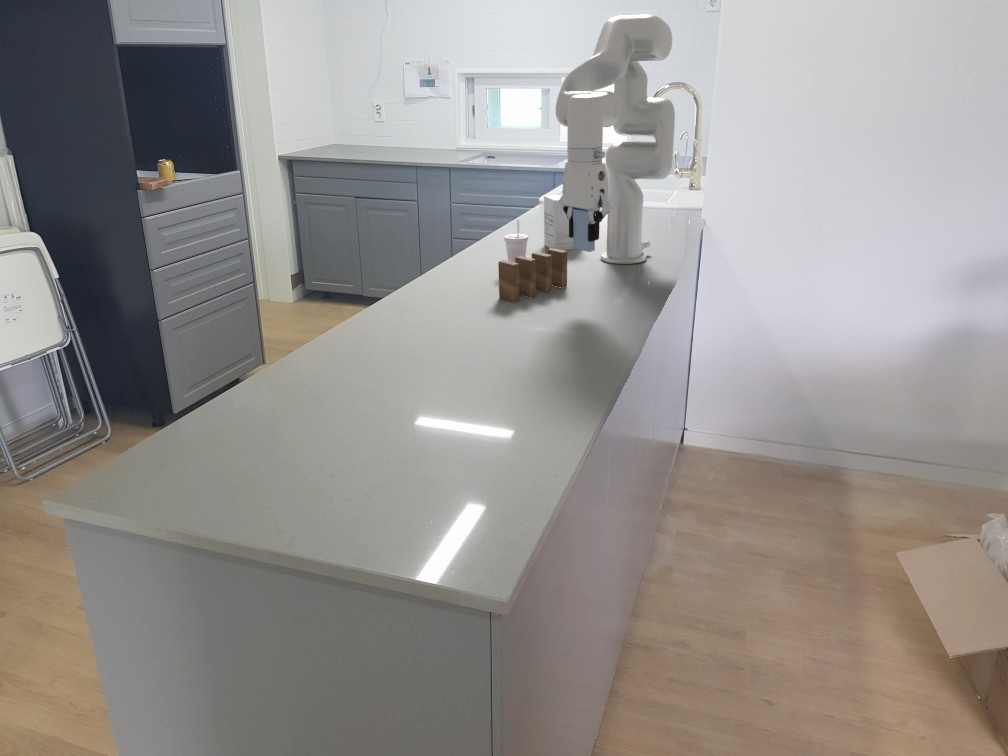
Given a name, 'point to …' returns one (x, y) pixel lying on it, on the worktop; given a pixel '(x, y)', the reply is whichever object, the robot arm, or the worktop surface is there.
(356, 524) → the worktop surface
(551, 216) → the supplement box
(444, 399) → the worktop surface
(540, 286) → the tile
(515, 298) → the tile
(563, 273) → the tile
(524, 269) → the tile
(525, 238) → the smoothie
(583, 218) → the tile
